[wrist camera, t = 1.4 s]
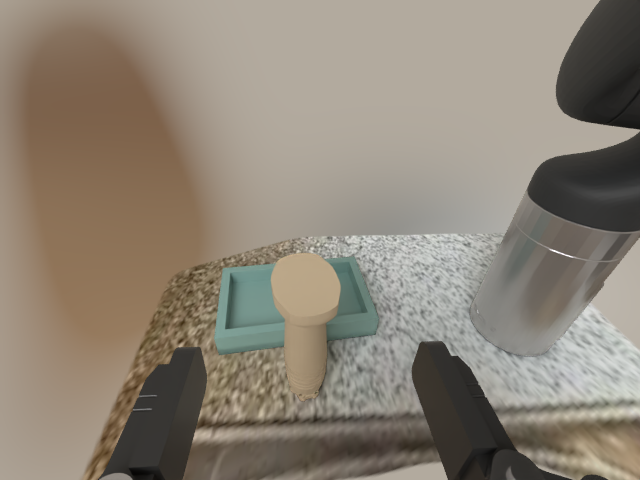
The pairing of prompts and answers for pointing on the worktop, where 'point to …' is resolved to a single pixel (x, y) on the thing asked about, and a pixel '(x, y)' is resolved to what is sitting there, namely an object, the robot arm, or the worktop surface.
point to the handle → (305, 317)
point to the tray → (265, 320)
